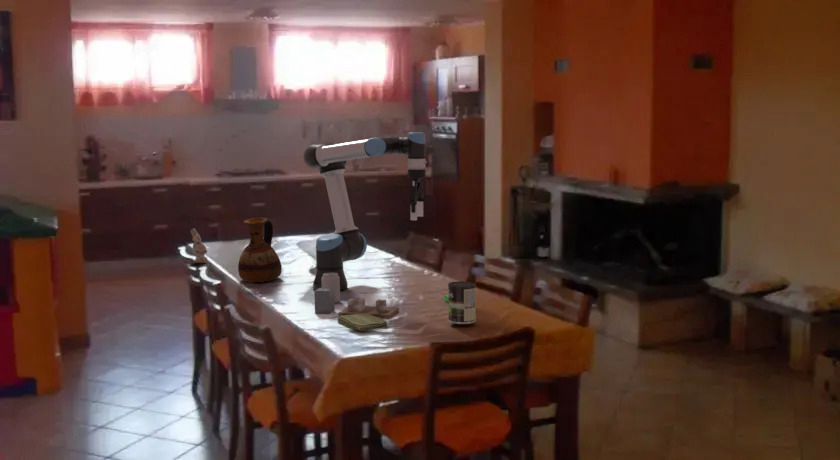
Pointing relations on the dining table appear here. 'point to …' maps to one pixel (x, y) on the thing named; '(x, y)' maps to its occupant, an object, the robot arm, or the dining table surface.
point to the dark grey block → (324, 300)
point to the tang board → (369, 308)
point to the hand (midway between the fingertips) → (417, 218)
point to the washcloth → (361, 321)
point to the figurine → (198, 247)
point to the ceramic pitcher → (259, 253)
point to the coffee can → (462, 302)
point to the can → (332, 284)
